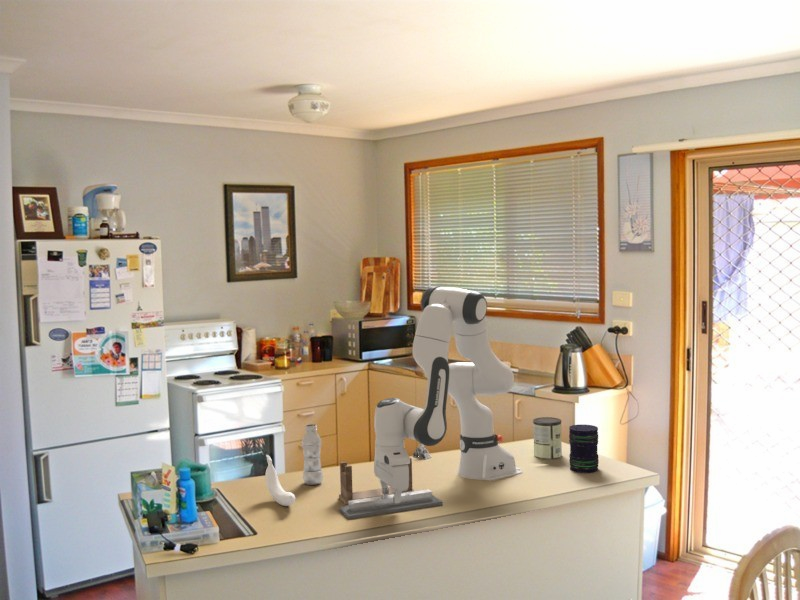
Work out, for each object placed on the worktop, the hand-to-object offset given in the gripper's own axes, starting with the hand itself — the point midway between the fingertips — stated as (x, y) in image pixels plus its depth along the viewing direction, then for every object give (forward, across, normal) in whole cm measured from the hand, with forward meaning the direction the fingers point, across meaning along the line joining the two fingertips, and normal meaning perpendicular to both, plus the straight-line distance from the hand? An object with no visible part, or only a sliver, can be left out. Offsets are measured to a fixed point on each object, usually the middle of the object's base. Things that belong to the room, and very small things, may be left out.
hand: (391, 498), depth 239 cm
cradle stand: (+3, -12, 0) cm, 13 cm away
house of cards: (+4, -48, +33) cm, 59 cm away
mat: (+3, 0, 0) cm, 3 cm away
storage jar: (+3, -8, +75) cm, 76 cm away
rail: (+2, 0, 0) cm, 2 cm away
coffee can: (+3, -28, +73) cm, 78 cm away
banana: (+3, -18, -29) cm, 34 cm away
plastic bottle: (+3, -34, -15) cm, 38 cm away
